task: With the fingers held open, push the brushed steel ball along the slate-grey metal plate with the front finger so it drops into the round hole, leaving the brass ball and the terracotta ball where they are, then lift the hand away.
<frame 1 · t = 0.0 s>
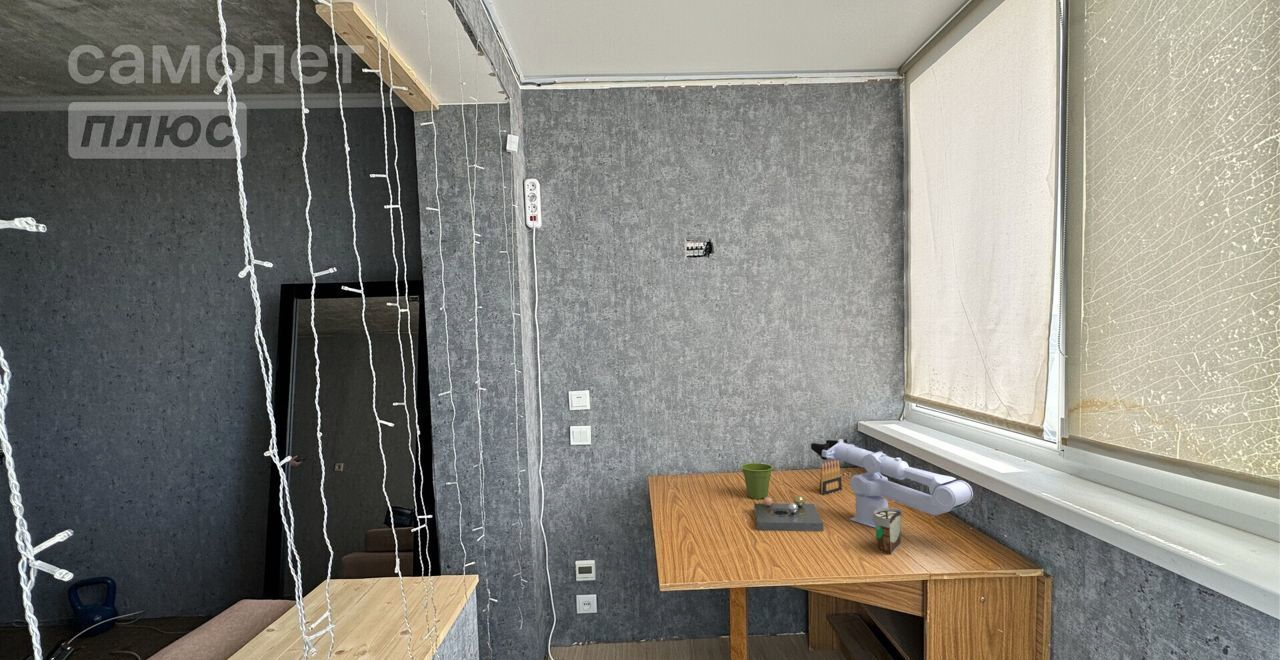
hand: (819, 444, 206), 22 cm above the table, tool horizontal, fingers open, 7 cm apart
hole plate: (780, 520, 194), on the table
brass ball: (799, 500, 200), point 4 cm above the table, touching hole plate
plant pot: (757, 497, 220), on the table
food container: (885, 547, 170), on the table
ammunition clip: (830, 492, 223), on the table
steel ball: (792, 507, 194), point 4 cm above the table, touching hole plate
terracotta ball: (767, 501, 202), point 4 cm above the table, touching hole plate
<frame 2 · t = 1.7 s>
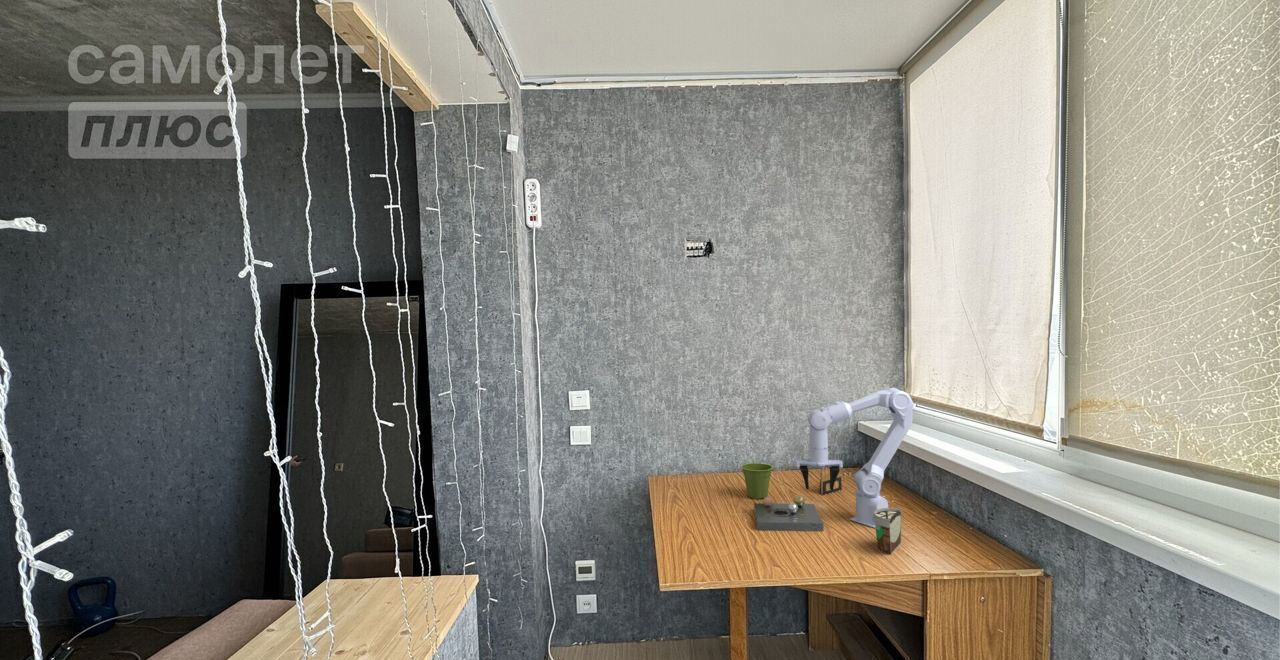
hand: (819, 488, 192), 10 cm above the table, tool pointing down, fingers open, 7 cm apart
nothing on the table moved.
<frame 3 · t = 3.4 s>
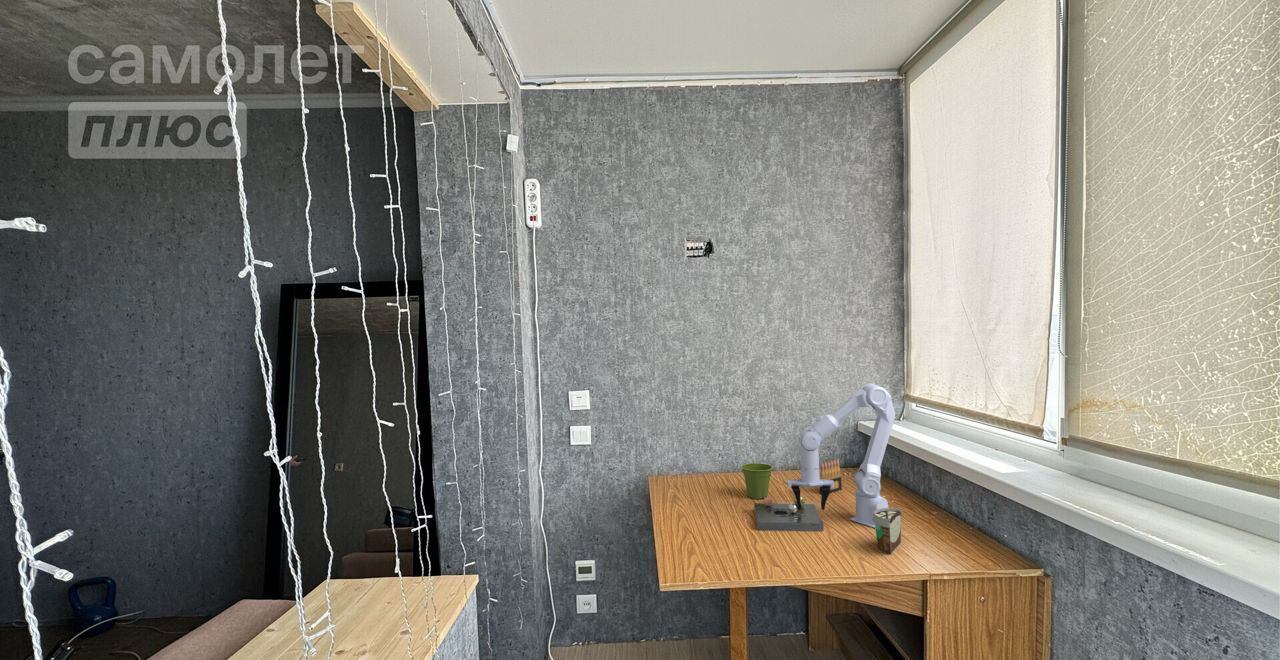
hand: (811, 508, 193), 4 cm above the table, tool pointing down, fingers open, 7 cm apart
steel ball: (792, 507, 194), point 4 cm above the table, touching gripper, hole plate
everything else where it was.
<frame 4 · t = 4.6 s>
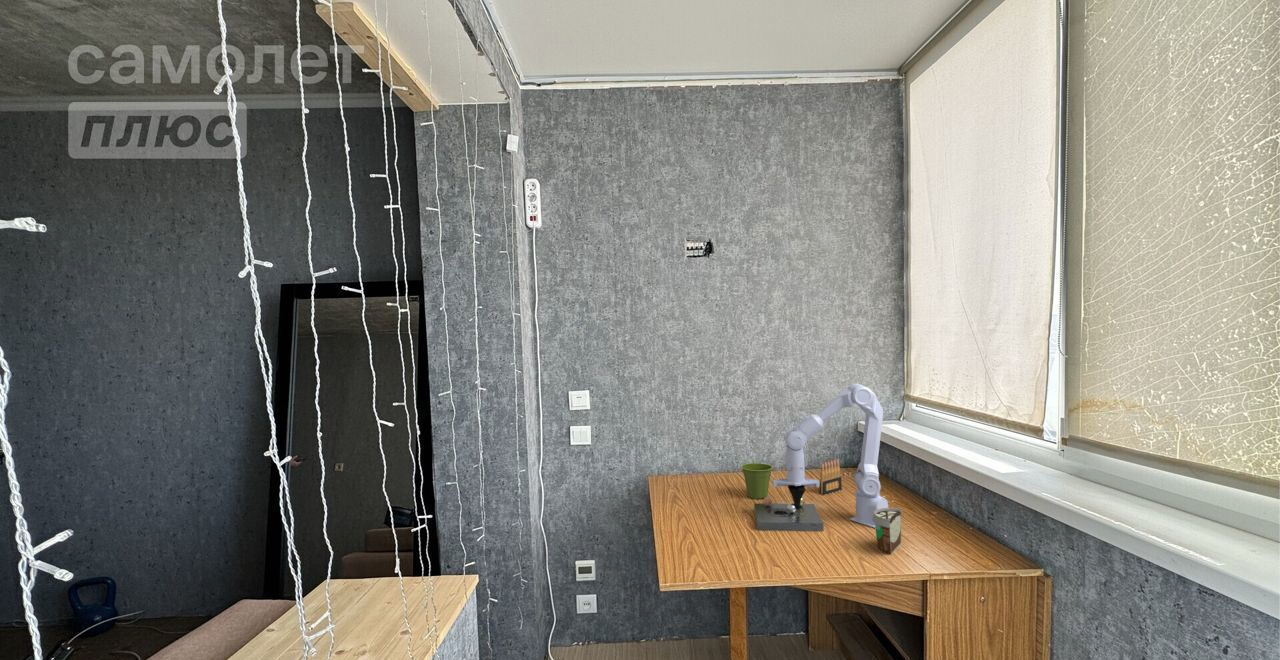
hand: (796, 508, 194), 4 cm above the table, tool pointing down, fingers closed, pressing on steel ball
steel ball: (791, 508, 194), point 4 cm above the table, tilted 14°, touching gripper, hole plate
everything else where it was.
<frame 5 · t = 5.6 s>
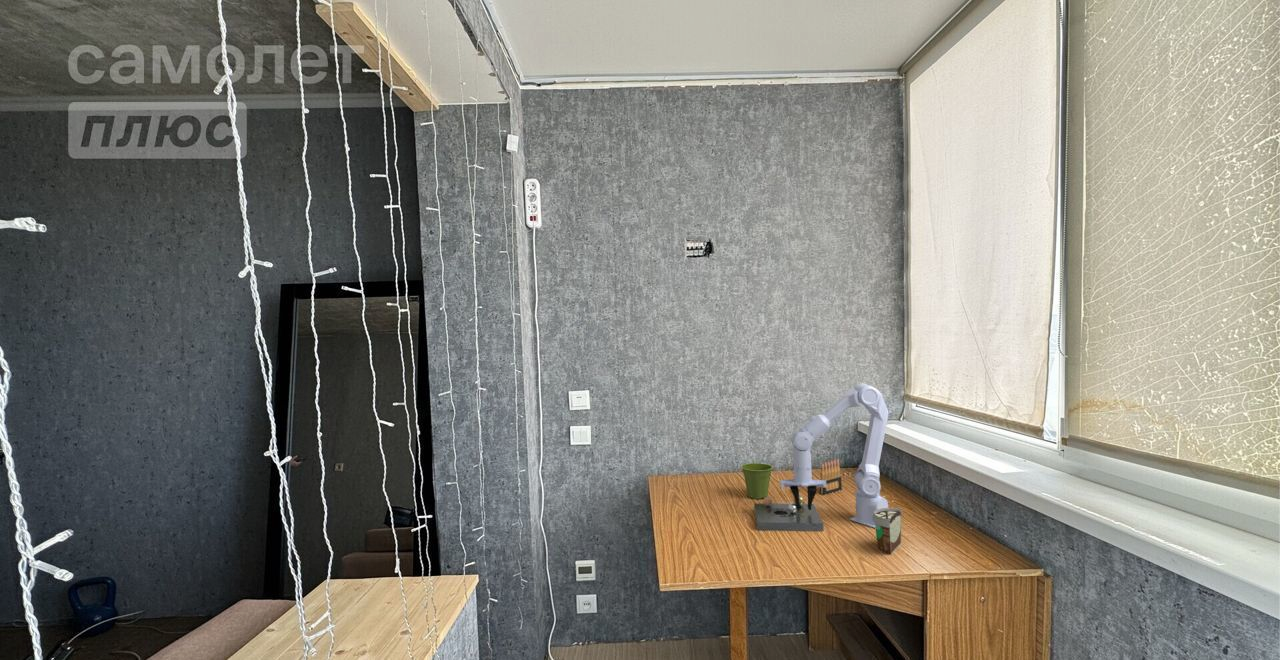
hand: (803, 508, 193), 4 cm above the table, tool pointing down, fingers open, 3 cm apart
steel ball: (792, 508, 194), point 4 cm above the table, touching gripper, hole plate
everything else where it was.
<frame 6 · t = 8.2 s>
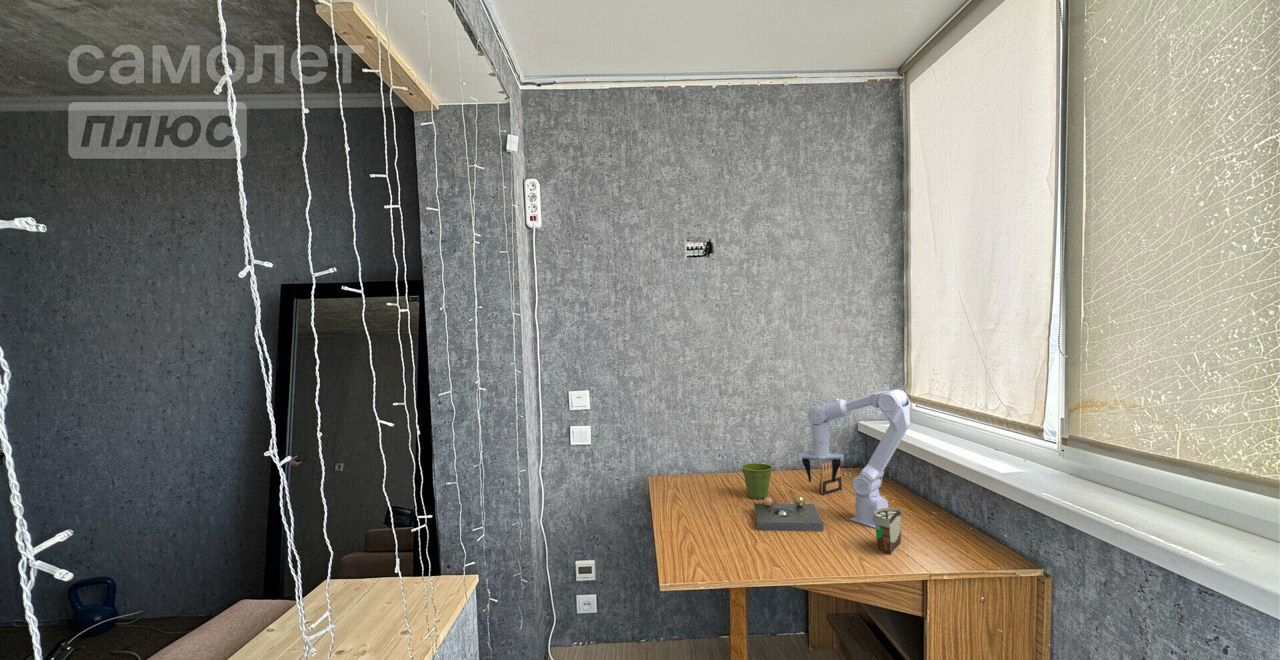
hand: (821, 481, 201), 10 cm above the table, tool pointing down, fingers open, 7 cm apart
steel ball: (782, 515, 194), point 2 cm above the table, tilted 154°
everything else where it was.
at the end: steel ball 0.6 cm off-centre on the hole plate, point 1.6 cm above the hole plate's base; brass ball moved 0.0 cm from its start; terracotta ball moved 0.0 cm from its start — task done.
